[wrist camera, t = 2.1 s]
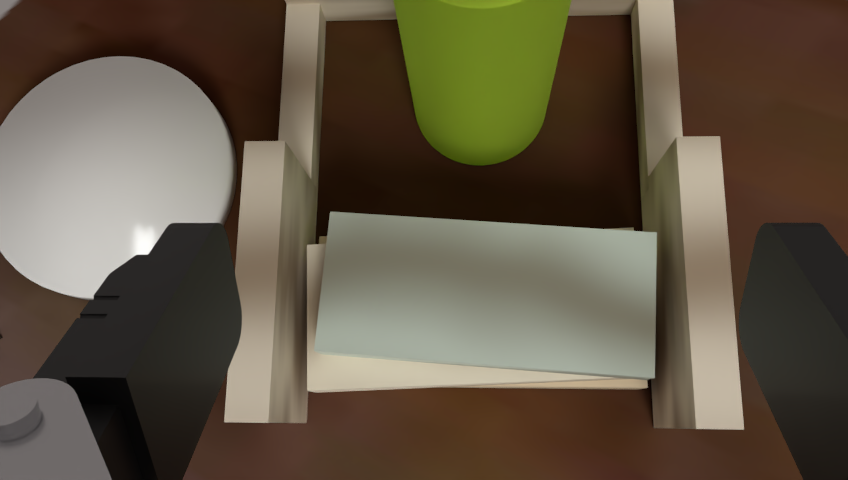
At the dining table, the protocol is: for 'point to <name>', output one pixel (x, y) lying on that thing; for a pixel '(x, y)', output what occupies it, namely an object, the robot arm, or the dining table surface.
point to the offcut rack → (485, 267)
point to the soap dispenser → (481, 72)
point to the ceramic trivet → (108, 169)
